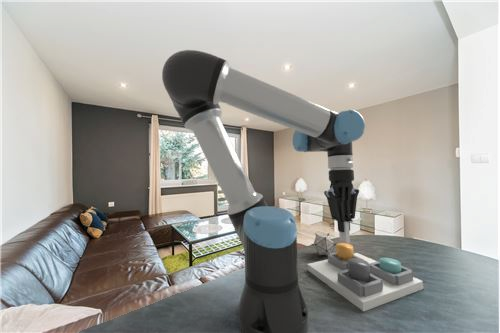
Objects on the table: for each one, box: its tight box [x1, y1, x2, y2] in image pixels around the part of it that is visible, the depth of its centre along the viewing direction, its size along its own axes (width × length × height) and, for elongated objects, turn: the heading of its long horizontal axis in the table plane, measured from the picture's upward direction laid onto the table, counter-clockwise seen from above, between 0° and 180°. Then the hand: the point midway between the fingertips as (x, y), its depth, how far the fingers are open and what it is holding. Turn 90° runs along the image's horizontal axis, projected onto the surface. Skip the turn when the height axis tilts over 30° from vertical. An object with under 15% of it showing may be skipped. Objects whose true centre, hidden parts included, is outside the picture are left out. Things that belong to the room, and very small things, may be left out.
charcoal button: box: [348, 258, 370, 281], centre depth 49 cm, size 5×5×4 cm
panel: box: [307, 252, 424, 312], centre depth 55 cm, size 22×20×4 cm
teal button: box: [378, 257, 402, 275], centre depth 53 cm, size 5×5×4 cm
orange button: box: [335, 242, 355, 260], centre depth 60 cm, size 5×5×4 cm
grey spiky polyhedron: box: [311, 232, 337, 257], centre depth 72 cm, size 9×8×10 cm
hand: (344, 241), depth 60 cm, fingers closed
